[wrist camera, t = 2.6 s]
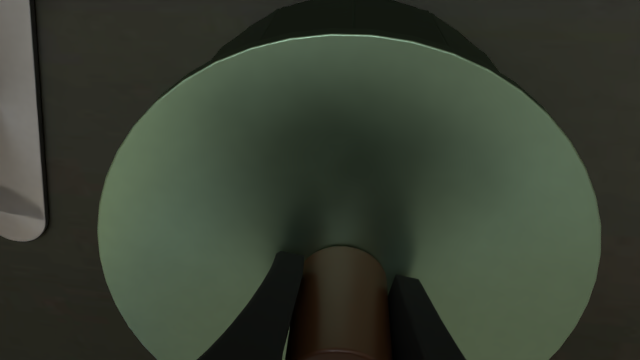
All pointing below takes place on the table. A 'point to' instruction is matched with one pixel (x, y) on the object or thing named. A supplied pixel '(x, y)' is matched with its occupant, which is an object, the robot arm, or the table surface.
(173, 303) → the lid
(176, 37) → the table surface
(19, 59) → the knife
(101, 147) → the table surface
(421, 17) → the pot
